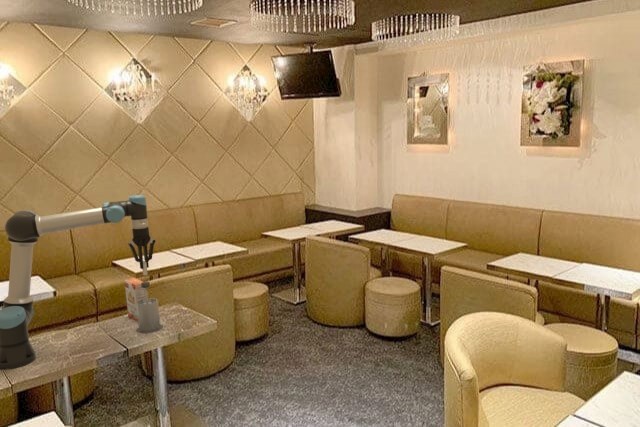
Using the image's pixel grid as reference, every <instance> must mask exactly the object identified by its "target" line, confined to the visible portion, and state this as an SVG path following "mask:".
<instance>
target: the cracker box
mask: <svg viewBox="0 0 640 427" xmlns="http://www.w3.org/2000/svg"><path fill="white" fill-rule="evenodd" d="M142 282H143V281H142V280H140V279H138V278H136V277H131V278H127V279H124V289H125V297H126V298H125V299H126V308H127V316H128V317H129V318H130V319H133V320H135V321H136V322H138V316H137V305H136V303H137V301H139V300H142V299H146V296H145V288H142V287H141V283H142Z"/></svg>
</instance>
